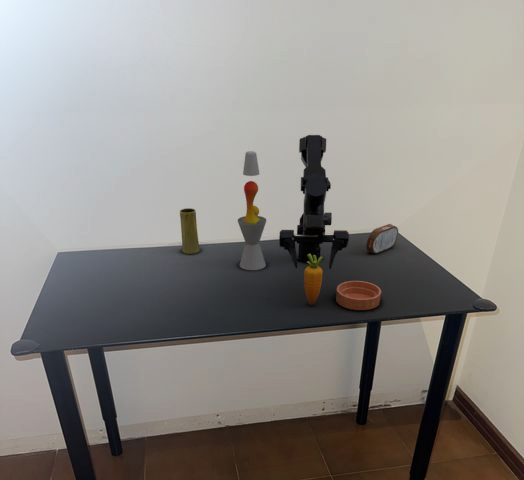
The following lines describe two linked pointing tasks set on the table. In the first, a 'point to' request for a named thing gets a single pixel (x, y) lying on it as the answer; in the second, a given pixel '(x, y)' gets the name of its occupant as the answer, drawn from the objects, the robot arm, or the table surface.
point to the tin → (382, 238)
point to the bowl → (358, 295)
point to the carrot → (313, 279)
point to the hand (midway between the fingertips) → (313, 268)
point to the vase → (189, 231)
